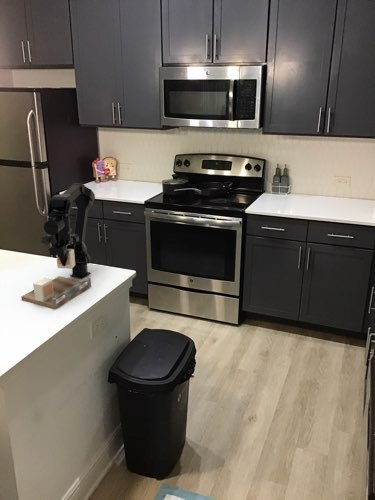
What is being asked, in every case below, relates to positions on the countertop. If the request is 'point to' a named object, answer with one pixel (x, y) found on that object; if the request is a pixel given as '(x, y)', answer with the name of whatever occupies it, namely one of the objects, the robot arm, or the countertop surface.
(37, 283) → the faced carton
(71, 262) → the askew carton
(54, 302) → the brown tray
